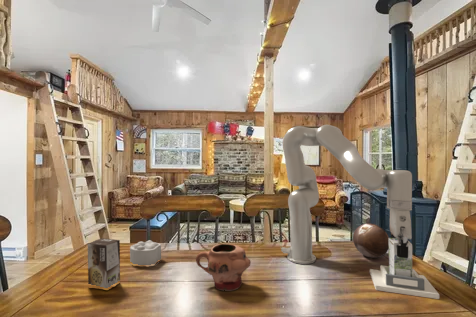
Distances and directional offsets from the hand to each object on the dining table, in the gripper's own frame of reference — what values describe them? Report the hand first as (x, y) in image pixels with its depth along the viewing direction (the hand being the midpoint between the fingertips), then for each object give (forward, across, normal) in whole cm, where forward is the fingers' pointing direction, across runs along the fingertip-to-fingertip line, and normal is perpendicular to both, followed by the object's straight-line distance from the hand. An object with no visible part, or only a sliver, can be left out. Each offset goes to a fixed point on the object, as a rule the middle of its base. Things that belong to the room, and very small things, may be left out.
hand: (398, 252), depth 91 cm
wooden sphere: (+12, +26, +5) cm, 29 cm away
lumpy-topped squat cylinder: (+14, -13, +101) cm, 103 cm away
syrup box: (+10, -1, 0) cm, 10 cm away
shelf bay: (+11, 0, -1) cm, 11 cm away
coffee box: (+13, -35, +100) cm, 107 cm away
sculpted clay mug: (+13, -21, +59) cm, 64 cm away
